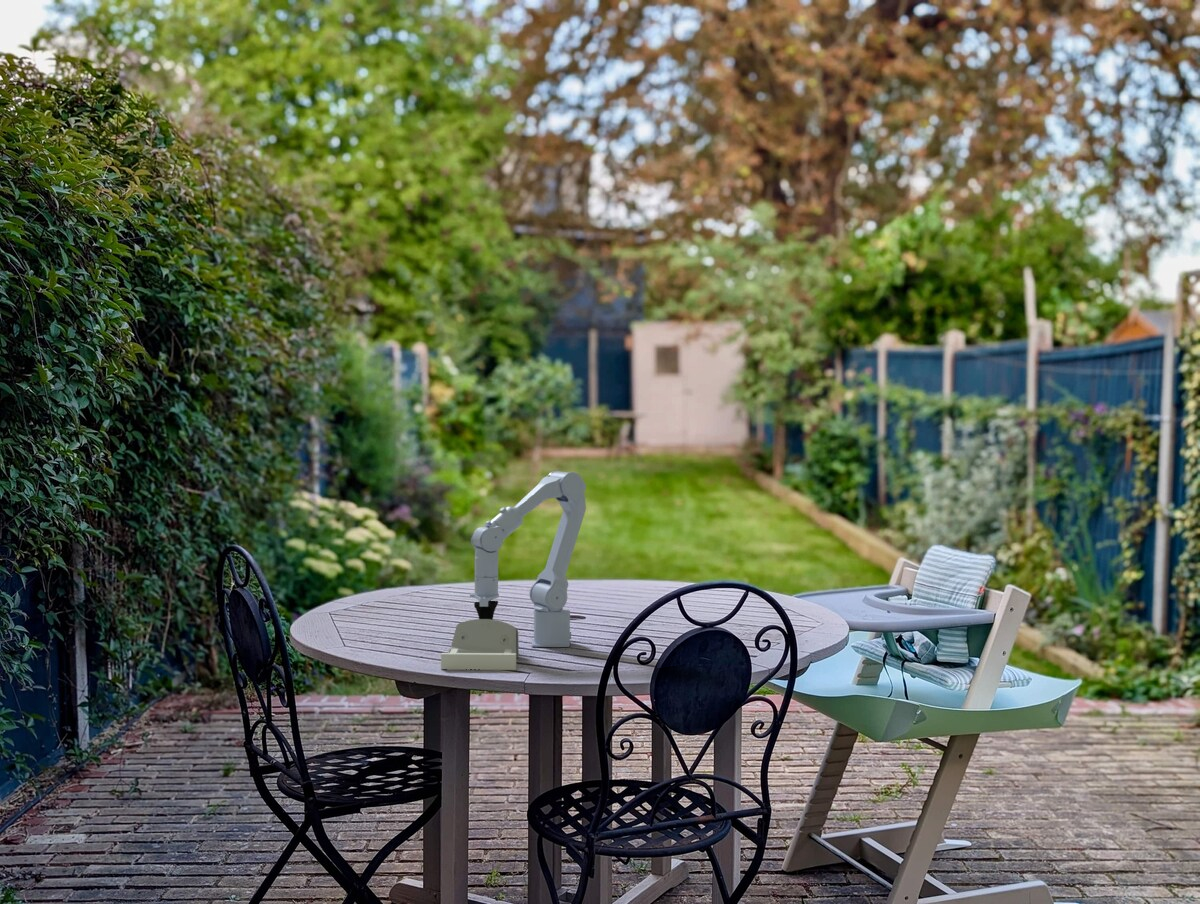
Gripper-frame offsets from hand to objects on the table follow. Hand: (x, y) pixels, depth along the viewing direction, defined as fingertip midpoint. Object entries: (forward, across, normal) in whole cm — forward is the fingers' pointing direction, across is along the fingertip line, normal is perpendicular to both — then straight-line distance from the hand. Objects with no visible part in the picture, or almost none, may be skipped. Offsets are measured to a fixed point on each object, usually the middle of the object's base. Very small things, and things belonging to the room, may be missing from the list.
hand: (486, 631), depth 277 cm
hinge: (+5, +6, 0) cm, 8 cm away
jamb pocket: (+5, +16, 0) cm, 16 cm away
